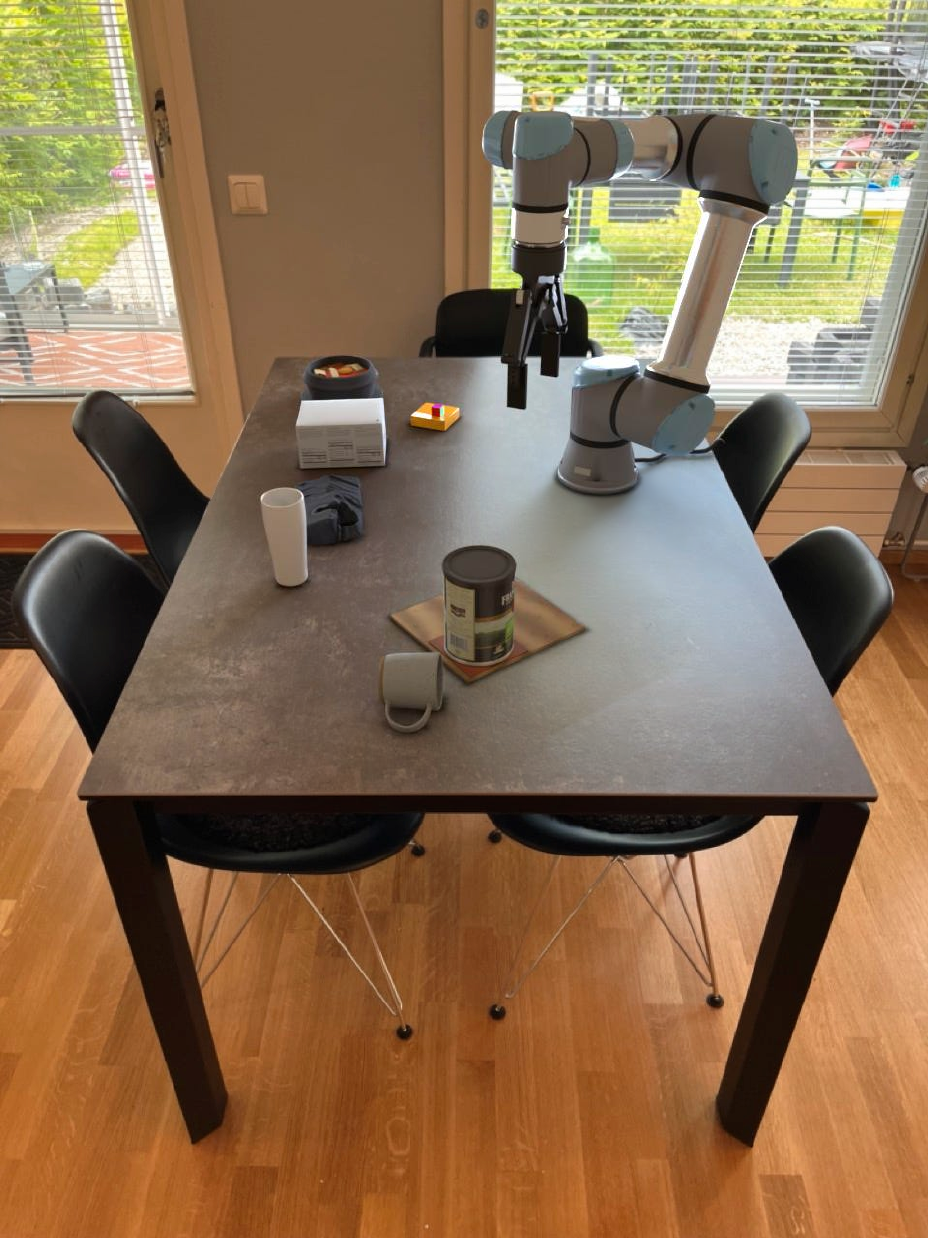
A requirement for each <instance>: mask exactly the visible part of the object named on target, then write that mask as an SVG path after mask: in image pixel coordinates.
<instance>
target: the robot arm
mask: <svg viewBox="0 0 928 1238" xmlns="http://www.w3.org/2000/svg"><path fill="white" fill-rule="evenodd" d="M481 145H482V152H483V154H484V156H485V158H486V160H487V161H488V162H489V164H491V165H493V166H495V167H499V168H502V169H504V170H507V171H509V170H510V171H511V170H512V206H511V225H510V226H511V228H510V231H511V232H510V237H511V239H513V240H514V241H513V242H512V243H511V246H510V268H511V270H512V272H513V273H515V274H518V275H519V276H520V277H521V285H520V286H519V288H512V289H511V295H510V307H509V314H508V319H507V324H506V329H505V333H504V334H505V335H504V341H503V346H502V351H501V356H500V363H501V364H502V365H507V371H506V372H507V374H506V375H507V378H506V380H507V381H506V408H510V409H516V410H520V411H521V410H522V411H525V410H526V409H527V402H528V401H527V399H528V375H529V374H528V373H529V370H528V369H529V368H528V367H529V363H526V360H527V357H528V353H529V349H530V346H531V342H532V338H533V334H534V330H535V327H536V323H537V322H538V321H541V323H542V325H543V328H544V331H543V332H541V344H540V345H541V347H540V348H541V349H540V369H539V371H540V373H539V376H542V377H543V376H544V377H549V378H558V377H559V375H560V355H561V338H562V333H563V334H566V333H567V332H568V324H567V322H568V318H567V310H566V301H565V294H564V285H563V273H564V272H565V270H566V267H567V248H568V245H567V244H566V241H565V240H566V239H567V238H568V226H570V225H571V224H572V218H571V217H569V207H570V191H571V189H574V188H578V187H583V186H588V185H593V184H599V183H606V182H609V181H610V180H613V179H616V178H619V177H621V176H622V175H624V174H636V175H637V176H638V177H639V178H641V179H643V180H646V181H657V182H658V181H659V182H662V183H666V184H671V185H673V186H676V187H680V188H683V189H686V190H691V191H696V192H699V194H698V197H697V200H696V203H697V204H698V206H699V208H700V210H701V218H700V221H699V224H698V227H697V230H696V233H695V236H694V240H693V243H692V246H691V249H690V253H689V256H688V260H687V262H686V266H685V269H684V271H683V275H682V279H681V282H680V285H679V288H678V290H677V295H676V298H675V300H674V301H675V302H674V304H673V308H672V311H671V313H670V314H671V315H670V317H669V320H668V324H667V327H666V330H665V333H664V337H663V340H662V343H661V346H660V350H659V353H658V356H657V358H656V359H655V360H653V361H652V362H650V363H648V364H647V365H646V366H645V368H644V372H643V374H642V373H640V372H639V371H640V369H641V368H640V363H639V361H638V360H637V359H635V358H634V357H631V356H625V355H603V356H597V357H592V358H588V359H586V360H583V361H581V362H580V363H578V365H576V366H575V368H574V370H573V371H574V372H573V377H572V378H573V380H572V384H571V400H570V401H571V403H570V422H569V423H570V424H569V437H568V441H567V442H566V446H565V448H564V450H563V451H564V452H563V455H562V457H561V459H560V460H559V463H558V468H557V478H558V480H559V482H560V483H561V484H563V485H564V486H565V487H567V488H568V489H570V490H573V491H576V492H579V493H583V494H587V495H588V494H590V495H599V496H600V495H601V496H602V495H603V496H604V495H615V494H619V493H623V492H625V491H628V490H630V489H632V488H633V487H634V486H635V485H636V484H637V482H638V474H639V473H638V463H653V462H657V461H659V460H661V459H663V458H664V457H666V456H670V457H672V458H673V457H674V458H680V457H684V456H687V455H702V454H703V455H704V454H707V453H709V452H710V451H712V450H713V449H714V448H716V446H717V445H718V444H720V445H726V442H725V441H724V439H722V438H720V437H718V438H716V439H714V440H713V441H712V442H711V444H710V445H708V446H707V447H705V448H699V449H696V448H698V447H699V446H700V445H701V444H702V443H703V441H704V440H705V438H706V437H707V435H708V434H709V432H710V430H711V429H712V425H713V424H714V421H715V416H716V410H715V409H716V402H715V399H713V397H712V396H711V395H709V392H710V389H711V387H712V382H711V381H710V378H709V376H708V375H707V370H708V367H709V364H710V360H711V358H712V355H713V352H714V348H715V345H716V344H717V343H716V342H717V340H718V336H719V334H720V330H721V328H722V324H723V321H724V318H725V315H726V312H727V310H728V307H729V303H730V300H731V297H732V294H733V291H734V288H735V285H736V282H737V279H738V276H739V273H740V269H741V266H742V264H743V260H744V257H745V254H746V252H747V248H748V245H749V242H750V240H751V236H752V233H753V230H754V228H755V227H756V225H758V224H759V223H761V222H763V221H764V220H766V219H767V217H768V214H769V211H770V209H771V206H773V207H774V206H776V205H779V204H782V203H783V202H784V201H785V200H786V199H787V196H788V195H790V193H791V191H792V189H793V187H794V184H795V181H796V178H797V172H798V164H799V163H798V162H799V151H798V146H797V145H798V143H797V140H796V136H795V134H794V133H793V131H792V130H791V128H790V127H789V126H788V125H786V124H784V123H782V122H778V121H774V120H770V119H769V120H768V119H765V118H761V117H760V118H755V117H743V116H735V115H734V116H733V115H723V114H716V113H709V112H707V113H705V112H703V113H687V114H671V115H659V114H655V115H649V116H647V117H645V118H643V119H642V120H631V119H618V118H603V117H589V116H577V115H571V114H570V113H568V112H565V111H560V110H559V111H558V110H531V111H526V112H524V111H518V110H515V109H511V110H498V111H496V112H493V114H492V115H491V116H490V117H489V118H488V119H487V121H486V123H485V125H484V128H483V131H482V141H481ZM540 319H541V320H540ZM566 324H567V325H566ZM632 443H634V444H636V445H639V446H642V447H643V448H644V447H645V448H648V449H650V450H652V451H654V453H656V454H657V453H658V454H657V455H655V456H651V457H635V452H634V448H633V447H634V446H633V444H632Z"/></svg>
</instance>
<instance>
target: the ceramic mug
mask: <svg viewBox="0 0 928 1238" xmlns="http://www.w3.org/2000/svg"><path fill="white" fill-rule="evenodd" d="M379 661H380V662H379V666H378V674H377V693H378V698H379V701H380V703H381V704H382V705H383V706H384V713H385V718H386V721H387V724H389V726H390V727H391V728H392V729H393V730H395V731H397V732H401V733H407V734H408V733H414V732H417V731H419V730H420V729H422V728H423V727H424V726H425V725H426V723H427V722H428V720H429V717H430V716H431V713H432V711H439V710H440V709H441V706H442V702H443V695H444V682H445V681H444V664H443V661H442V655H441V654H440V653H439V652H430V651H429V652H394V653H388V654H386V655H384V656H382V657H381V659H380V660H379ZM390 708H398V709H412V710H423V711H425V712H424V713H423V715H422V717H421V718H419V720H417V721H416V722H415V723H413V724H411V725H407V726H406V725H402V724H400V723H398V722H395V720H393V719H392V718H391V716H390Z"/></svg>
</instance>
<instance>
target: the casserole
mask: <svg viewBox="0 0 928 1238" xmlns="http://www.w3.org/2000/svg"><path fill="white" fill-rule="evenodd" d="M378 377H379V372H378V370H377V369H376V368H375V365H374V364H373V362H372V361H371V360H370V359H367V358H365V357H362V356H358V355H351V354H350V355H348V354H347V355H346V354H345V355H344V354H341V355H340V354H339V355H330V356H325V357H321V358H317V359H314V360H312V361H311V362H308V363H307V365H306V367H305V370H304V373H303V374H302V376H301V380H302V382H303V383H304V384H305V385H306V387H305V388H304V389H303V390H302V391H301V392H300V395H299V396H300V400H301V402H302V401H316V400H347V399H376V398H383V395H384V390H383V388H382V387H381V386H380V385H379V384H377V383H376V380H377V379H378Z"/></svg>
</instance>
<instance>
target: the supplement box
mask: <svg viewBox="0 0 928 1238" xmlns="http://www.w3.org/2000/svg"><path fill="white" fill-rule="evenodd" d="M385 417H386V415H385V403H384V398H383V397H381V398H376V399H347V400H316V401H302V400H301V403H300V406H299V411H298V415H297V419H296V422H295V435H296V442H297V444H296V445H297V451H298V452H297V453H298V462H299V463H298V464H299V469H300V470H302V469H329V468H333V469H334V468H359V467H385V466H386V451H387V433H386V432H387V429H386V418H385Z"/></svg>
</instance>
